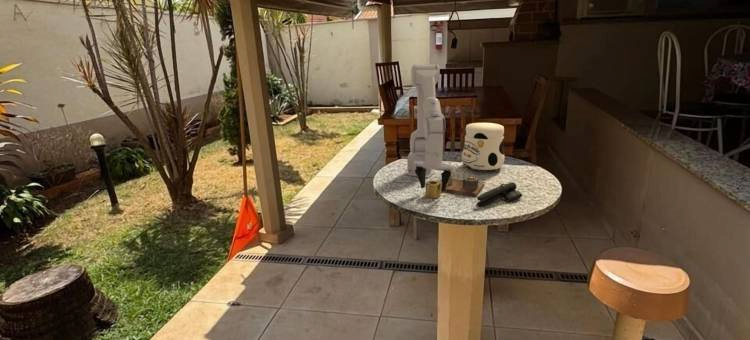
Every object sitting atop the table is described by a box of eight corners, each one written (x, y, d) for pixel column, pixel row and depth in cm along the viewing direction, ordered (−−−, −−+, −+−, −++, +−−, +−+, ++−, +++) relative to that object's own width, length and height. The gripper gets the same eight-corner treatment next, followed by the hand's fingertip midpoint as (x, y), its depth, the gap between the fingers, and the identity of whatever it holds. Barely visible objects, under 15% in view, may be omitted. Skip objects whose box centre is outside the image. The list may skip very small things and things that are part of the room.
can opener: (509, 193, 138) (510, 178, 136) (524, 200, 132) (525, 184, 130) (469, 203, 130) (470, 187, 129) (483, 210, 124) (484, 194, 123)
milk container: (455, 170, 162) (457, 128, 156) (469, 159, 176) (471, 120, 170) (497, 177, 153) (500, 132, 148) (507, 165, 167) (511, 124, 161)
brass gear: (423, 197, 136) (423, 184, 134) (428, 192, 140) (429, 179, 138) (437, 199, 133) (437, 186, 132) (442, 194, 138) (442, 181, 136)
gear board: (433, 189, 142) (433, 176, 141) (443, 180, 151) (443, 167, 150) (476, 196, 135) (477, 182, 133) (484, 186, 144) (485, 173, 142)
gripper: (409, 152, 132) (409, 189, 136) (450, 157, 125) (449, 196, 129) (417, 147, 137) (417, 183, 142) (457, 151, 131) (455, 189, 135)
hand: (433, 189), depth 136 cm, fingers open, 7 cm apart
